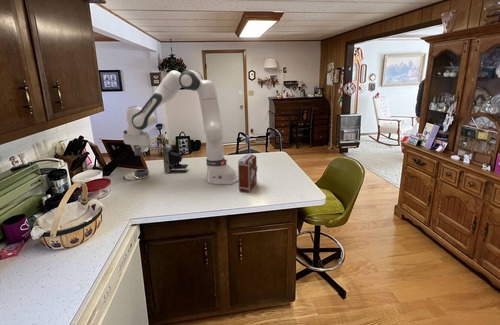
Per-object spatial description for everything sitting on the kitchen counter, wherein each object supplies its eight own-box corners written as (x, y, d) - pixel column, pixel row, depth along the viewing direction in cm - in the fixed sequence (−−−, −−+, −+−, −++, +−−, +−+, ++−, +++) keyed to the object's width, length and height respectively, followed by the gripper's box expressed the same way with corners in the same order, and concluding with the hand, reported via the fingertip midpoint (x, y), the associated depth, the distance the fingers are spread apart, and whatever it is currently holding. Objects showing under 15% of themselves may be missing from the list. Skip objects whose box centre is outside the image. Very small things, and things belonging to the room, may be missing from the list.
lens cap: (144, 154, 194) (143, 146, 192) (139, 155, 189) (138, 148, 188) (138, 153, 195) (137, 146, 194) (133, 155, 191) (132, 147, 189)
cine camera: (261, 182, 185) (261, 152, 179) (251, 193, 167) (250, 160, 161) (247, 180, 187) (247, 151, 182) (236, 191, 170) (235, 159, 164)
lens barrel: (152, 175, 199) (151, 169, 198) (142, 180, 191) (141, 173, 190) (141, 174, 203) (140, 168, 201) (132, 178, 195) (131, 172, 193)
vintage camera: (185, 174, 203) (184, 146, 198) (164, 173, 203) (162, 146, 198) (188, 170, 213) (187, 143, 207) (168, 169, 213) (166, 143, 207)
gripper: (151, 131, 187) (154, 151, 191) (127, 129, 194) (130, 149, 198) (145, 133, 181) (147, 154, 185) (120, 131, 189) (123, 151, 193)
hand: (138, 151), depth 192 cm, fingers closed on lens cap, 5 cm apart
